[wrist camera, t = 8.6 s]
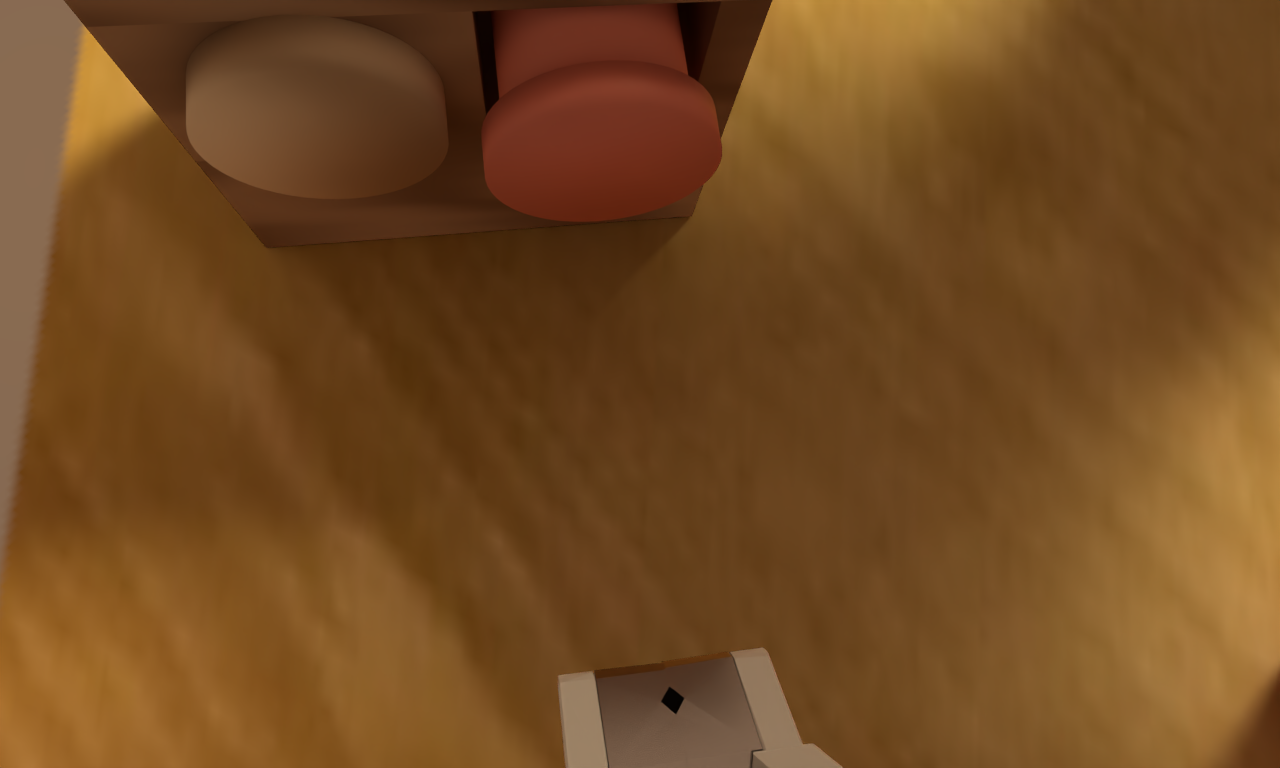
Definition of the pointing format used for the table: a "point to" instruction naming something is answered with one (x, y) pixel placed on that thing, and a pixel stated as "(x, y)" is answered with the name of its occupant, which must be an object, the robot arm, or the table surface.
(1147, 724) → the table surface
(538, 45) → the red plug
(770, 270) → the table surface
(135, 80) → the socket block
